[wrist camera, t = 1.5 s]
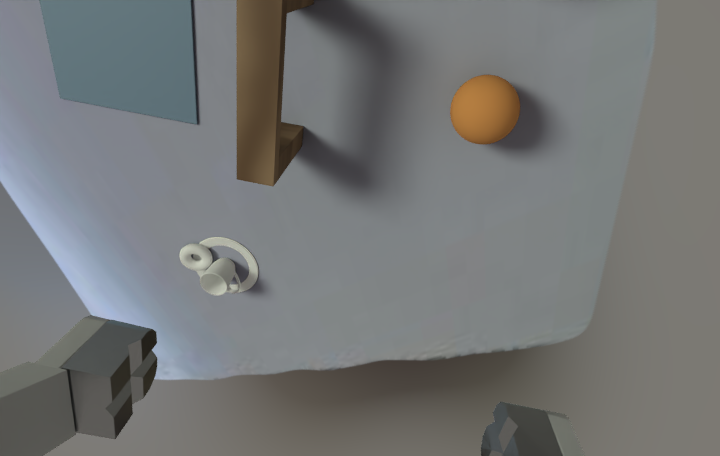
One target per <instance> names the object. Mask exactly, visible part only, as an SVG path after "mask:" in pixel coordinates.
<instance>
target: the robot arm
mask: <svg viewBox="0 0 720 456" xmlns="http://www.w3.org/2000/svg"><path fill="white" fill-rule="evenodd" d="M156 343H157V337H156V331H154V330H153V329H149V328H145V327H141V326H136V325H132V324H128V323H123V322H119V321H115V320H108V319H104V318H100V317H96V316H92V315H90V316H88V317H85V318H83V319H82V320H81V321H80V322H78V323H77V324H76V325H75V326H74V327H73V328H72V329H71V330H70V331H69V332H68V333H67V334H66V335H65V336H63V337H62V338H61V339H60V340H59V341H58V342H57V343H56V344H55V345H54V346H53V347H52V348H51V349H50V350H49V351H47V352H46V353H45V354H44V355H43V356H42V357H41V358H40V359H39V360H38V361H37V362H36V363H31V362H26V363H24V364H21V365H19V366H16V367H13V368H11V369H9V370H6V371H3V372H0V456H43V455H45V454H46V453H48V452H50V451H51V450H53V449H54V448H56V447H57V446H59V445H60V444H62V443H63V442H65V441H67V440H68V439H70V438H71V437H73V436H74V435H76V432H77V433H82V434H88V435H94V436H99V437H105V438H111V439H116V438H117V436H118V435H119V433H120V432H121V430H122V429H123V427H124V426H125V424H126V423H127V422H128V420H129V419H130V417H131V415H132V414H133V412H132V404H134V403H135V402H137V401H139V400H141V399H143V398H144V397H145V395H146V393H147V392H148V390H149V389H150V387H151V385H152V382H153V380H154V377H155V374H156V369H157V357H156V355H155V354H154V353H153V351H152V349H153V347H154V346H155V345H156ZM493 415H494V420H495V422H494V423H492V424H490V425H488V426H487V427H486V430H485V432H484V435H483V439H482V445H481V456H585V455H584V453H583V450H582V448H581V446H580V443H579V441H578V438H577V436H576V434H575V431H574V429H573V427H572V424H571V422H570V420H569V418H568V417H567V416H566V415H565V414H561V413H556V412H551V411H545V410H540V409H535V408H530V407H525V406H520V405H515V404H510V403H505V402H500V403H499V404H497V406H496V408H495V410H494V412H493Z"/></svg>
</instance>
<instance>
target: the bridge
mask: <svg viewBox="0 0 720 456" xmlns="http://www.w3.org/2000/svg"><path fill="white" fill-rule="evenodd" d="M313 4H314V0H237V179H238V180H243V181H248V182H253V183H258V184H264V185H269V186H274V185H275V183H276V182H277V181H278V179H279V178H280V176H281V175H282V173H283V172H284V171H285V169H286V168H287V166H288V165H289V164H290V162H291V161H292V159H293V158H294V157H295V155H296V154H297V152H298V151H299V150H300V148H301V147H302V139H303V127H304V126H299V125H294V124H288V123H283V122H281V110H282V91H283V72H284V54H285V35H286V16H287V13H289V12H292V11H295V10H298V9H301V8H304V7H307V6H310V5H313Z"/></svg>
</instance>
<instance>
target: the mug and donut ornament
mask: <svg viewBox="0 0 720 456" xmlns="http://www.w3.org/2000/svg"><path fill="white" fill-rule="evenodd" d="M217 245H223V246H228V247H231V248H233V249H235V250H237V251H238V252H240V253H241V254H242V255H243V256H244V258H245V259H246V261H247V262H248V265H249V275H248V277H247V279H246V280H245V281H243V282H242V283H240V280H239V277H238V275H237V273H236V272H235V264H234V262H233V261H232V260H230V259H228V258H220V259H218V260H216V261H215V262H214V263H213V264H212V261H213V258H212V254H211V252H210V250H209V248H210V247H213V246H217ZM192 254H193V258H192V257H191V255H192ZM180 260H181V262H182V264H183V265H184V266H186V267H187V268H189V269H191V270H195V271H197V273H198V274H199V276H200V277H201V278H200V284H201V286H202V288H203V289H204V290H205V291H206V292H208V293H210V294H212V295H222V294H224V293H225V292H229V293H238V292H243V291H246V290H248V289H250V288H251V287H252V286H253V285H254V284H255V283H256V281H257V278H258V265H257V262H256V260H255V258H254V257H253V255H252V254H251V253H250V252H249V250H248V249H246V248H245V247H244V246H243V245H241V244H240V243H238V242H236V241H234V240H231V239H228V238H223V237H212V238H208V239H205V240H203V241H202V242H200V243H199V244H188V245H186V246H185V247H183V248H182V249H181V251H180ZM211 264H212V265H211ZM210 265H211V266H210ZM209 266H210V267H209ZM208 267H209V268H208ZM207 268H208V269H207ZM205 269H207V270H205ZM234 276H235V278H236V280H237V284H236V285H230V283H231V281H232V279H233V277H234Z"/></svg>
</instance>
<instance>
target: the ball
mask: <svg viewBox="0 0 720 456" xmlns="http://www.w3.org/2000/svg"><path fill="white" fill-rule="evenodd" d="M519 113H520V101H519V97H518V94H517V92H516V90H515V89H514V87H513V86H512V85H511V84H510V83H509V82H508V81H506V80H505V79H503V78H501V77H498V76H494V75H481V76H477V77H474V78H472V79H470V80H468V81H467V82H465V83H464V84H463V85H462V86H461V87H460V88H459V89H458V91H457V92H456V94H455V95H454V97H453V100H452V103H451V110H450V115H451V121H452V124H453V126H454V128H455V130H456V131H457V133H458V134H459V135H460V136H461V137H463V138H464V139H465V140H467V141H469V142H472V143H475V144H490V143H494V142H497V141H499V140H501V139H502V138H504V137H505V136H507V135H508V134H509V133H510V132H511V131H512V129H513V128H514V126H515V125H516V123H517V120H518V118H519Z"/></svg>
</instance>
